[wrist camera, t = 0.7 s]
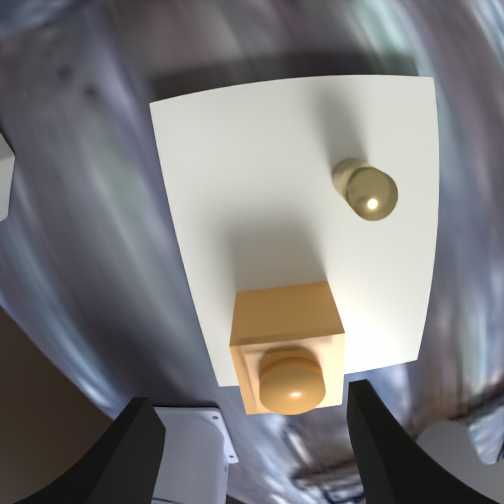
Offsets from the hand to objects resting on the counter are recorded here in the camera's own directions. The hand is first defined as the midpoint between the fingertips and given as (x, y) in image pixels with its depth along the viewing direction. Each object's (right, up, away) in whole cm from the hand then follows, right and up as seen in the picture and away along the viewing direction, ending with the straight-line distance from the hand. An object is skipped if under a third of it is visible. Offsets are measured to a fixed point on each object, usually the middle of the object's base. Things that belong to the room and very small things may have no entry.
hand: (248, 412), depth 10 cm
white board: (+4, +6, +8) cm, 10 cm away
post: (+5, +9, +4) cm, 11 cm away
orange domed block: (+2, +2, +8) cm, 8 cm away
